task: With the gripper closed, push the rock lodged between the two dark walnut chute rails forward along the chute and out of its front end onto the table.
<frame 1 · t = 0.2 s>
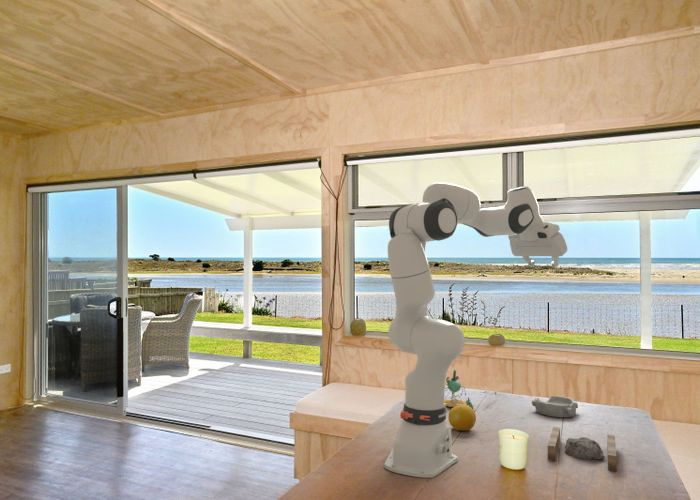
hand: (543, 266, 176), 54 cm above the table, fingers open, 8 cm apart
green and yellow piece: (455, 407, 192), on the table
rock: (582, 454, 145), on the table
fruit: (462, 430, 165), on the table
chute: (582, 454, 144), on the table
dish: (556, 414, 184), on the table
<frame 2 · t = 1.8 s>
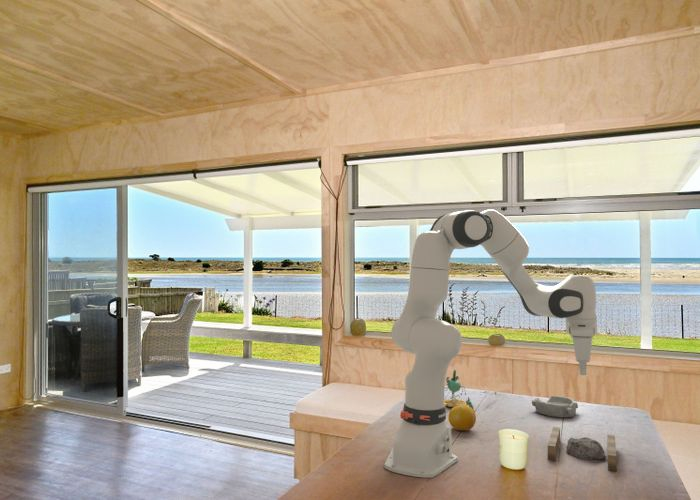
hand: (582, 371, 157), 21 cm above the table, fingers open, 8 cm apart
nothing on the table moved.
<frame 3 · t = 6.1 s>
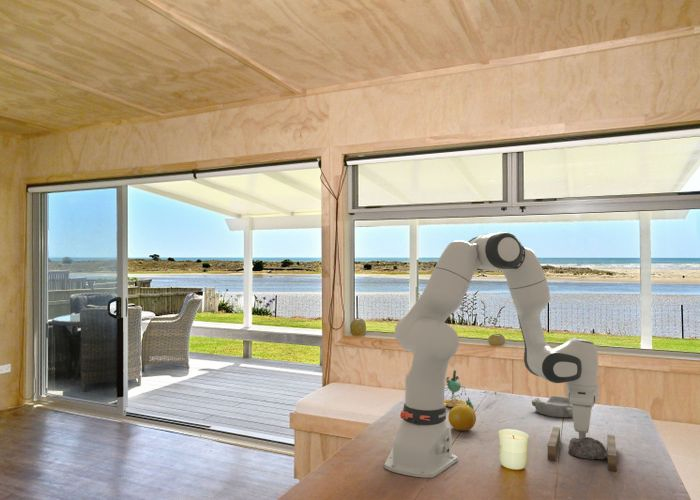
hand: (582, 438, 151), 2 cm above the table, fingers closed
rock: (586, 454, 145), on the table, touching gripper
everything else where it was.
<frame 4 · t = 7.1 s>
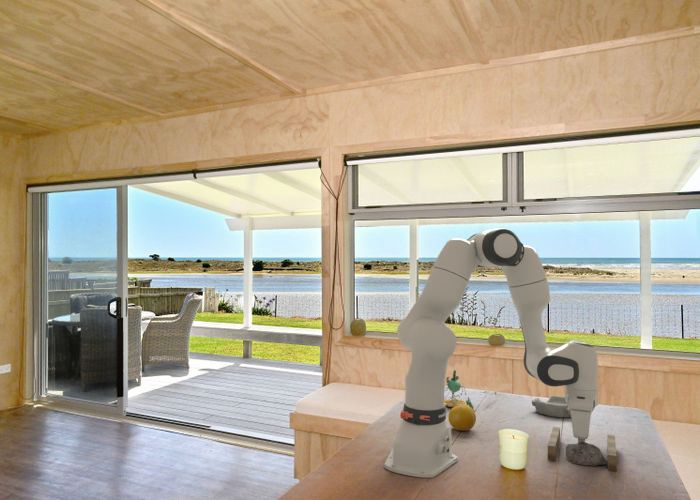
hand: (581, 444, 146), 2 cm above the table, fingers closed
rock: (584, 460, 140), on the table, touching gripper
everything else where it was.
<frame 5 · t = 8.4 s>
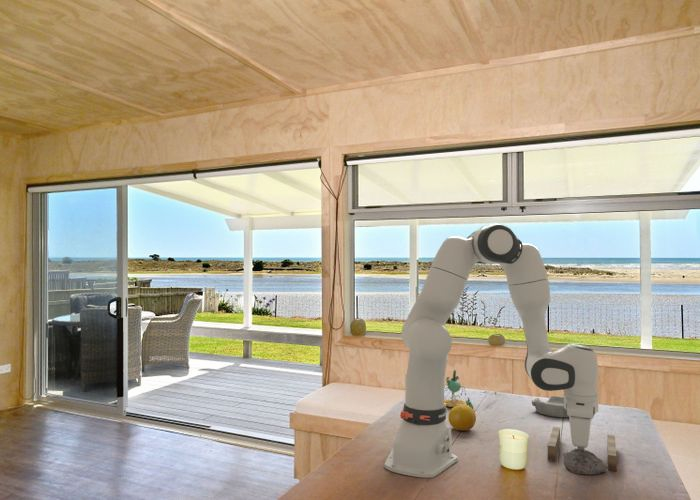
hand: (581, 453, 140), 2 cm above the table, fingers closed
rock: (583, 468, 134), on the table, touching gripper
everything else where it was.
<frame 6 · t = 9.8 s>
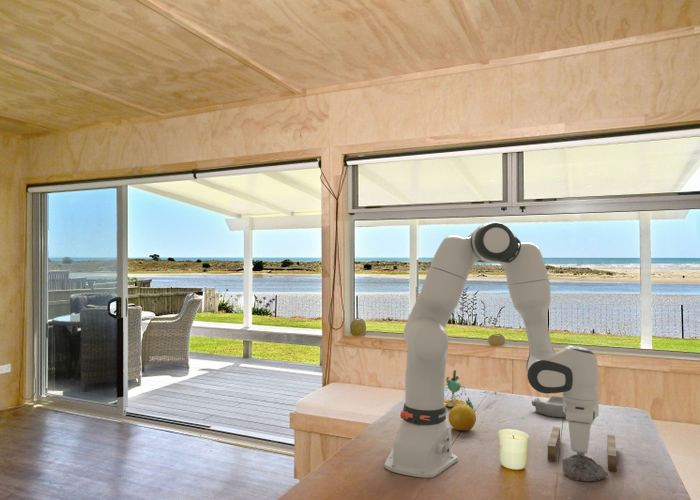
hand: (580, 458, 136), 2 cm above the table, fingers closed
rock: (582, 475, 130), on the table, touching gripper
everything else where it was.
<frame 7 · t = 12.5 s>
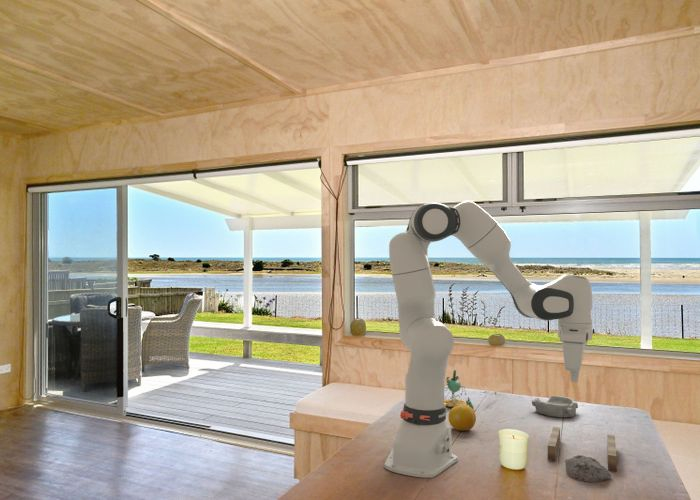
hand: (574, 381, 141), 22 cm above the table, fingers closed
rock: (585, 475, 131), on the table
everything else where it was.
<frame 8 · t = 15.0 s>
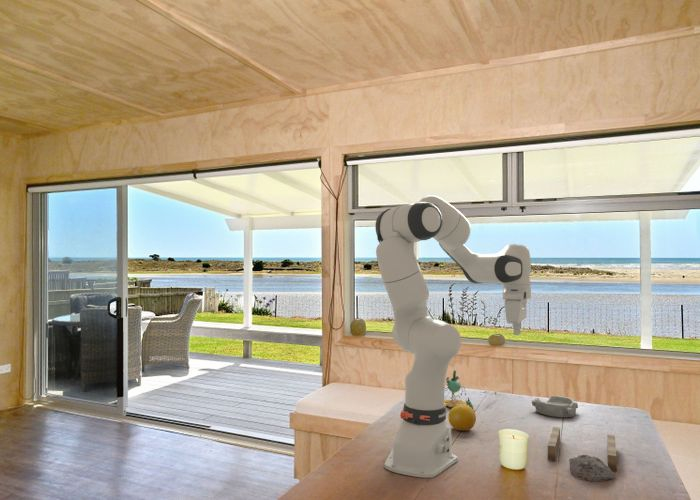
hand: (517, 334, 167), 31 cm above the table, fingers closed
rock: (589, 475, 131), on the table
everything else where it was.
at the end: rock inside the target area (6.4 cm from its centre), on the table; rock moved 14.9 cm from its start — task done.
